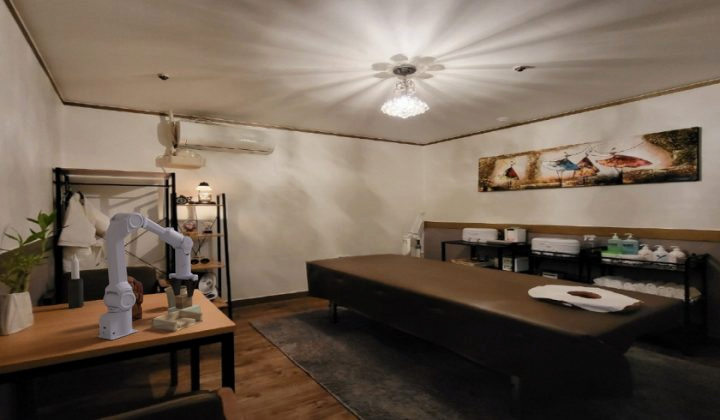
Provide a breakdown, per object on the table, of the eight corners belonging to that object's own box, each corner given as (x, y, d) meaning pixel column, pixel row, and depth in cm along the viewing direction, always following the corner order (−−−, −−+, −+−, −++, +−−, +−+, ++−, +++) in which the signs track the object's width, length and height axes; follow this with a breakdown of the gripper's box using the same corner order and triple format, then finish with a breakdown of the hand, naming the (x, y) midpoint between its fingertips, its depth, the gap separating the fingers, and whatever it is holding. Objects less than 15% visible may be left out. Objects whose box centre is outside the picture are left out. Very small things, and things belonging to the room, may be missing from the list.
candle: (71, 306, 174) (69, 253, 173) (84, 305, 176) (82, 252, 176) (67, 309, 169) (66, 254, 169) (81, 307, 171) (80, 254, 171)
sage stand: (183, 318, 151) (183, 310, 151) (167, 316, 155) (167, 309, 154) (200, 312, 159) (200, 305, 159) (185, 310, 163) (185, 303, 163)
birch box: (174, 331, 134) (174, 322, 134) (151, 328, 139) (151, 319, 139) (202, 321, 146) (202, 312, 146) (180, 318, 151) (180, 309, 151)
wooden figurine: (112, 325, 143) (111, 279, 143) (107, 322, 147) (106, 277, 147) (145, 318, 152) (144, 274, 152) (139, 315, 156) (138, 273, 156)
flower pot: (191, 304, 173) (191, 286, 173) (180, 309, 164) (179, 290, 164) (172, 304, 174) (172, 285, 174) (160, 309, 165) (159, 290, 165)
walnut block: (182, 309, 154) (182, 297, 154) (175, 308, 155) (175, 296, 155) (192, 306, 158) (192, 294, 158) (185, 305, 160) (185, 293, 160)
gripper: (203, 263, 158) (203, 295, 158) (178, 262, 163) (179, 292, 163) (189, 266, 151) (190, 299, 151) (164, 264, 157) (165, 296, 157)
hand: (183, 296), depth 157 cm, fingers open, 7 cm apart
